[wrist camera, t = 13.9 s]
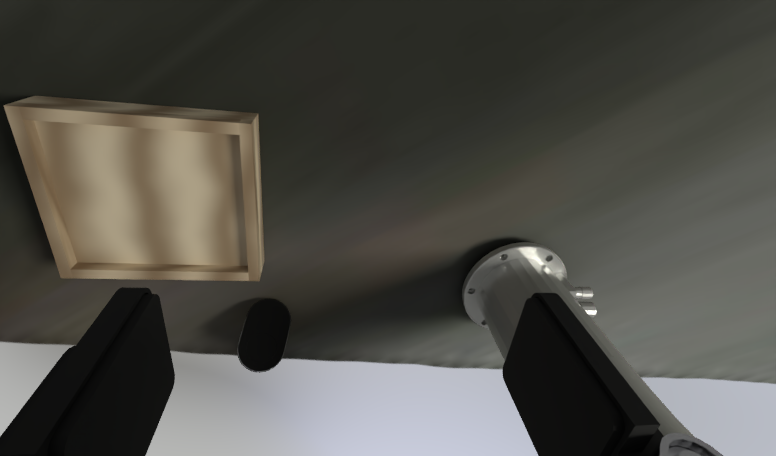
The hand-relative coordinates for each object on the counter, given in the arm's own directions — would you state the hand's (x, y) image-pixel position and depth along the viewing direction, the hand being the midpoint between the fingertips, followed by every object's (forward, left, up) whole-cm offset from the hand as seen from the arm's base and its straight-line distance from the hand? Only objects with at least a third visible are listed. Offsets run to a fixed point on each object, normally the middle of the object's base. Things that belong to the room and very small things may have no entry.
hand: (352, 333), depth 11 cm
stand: (+7, +26, -32) cm, 42 cm away
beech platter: (+16, +10, -30) cm, 36 cm away
